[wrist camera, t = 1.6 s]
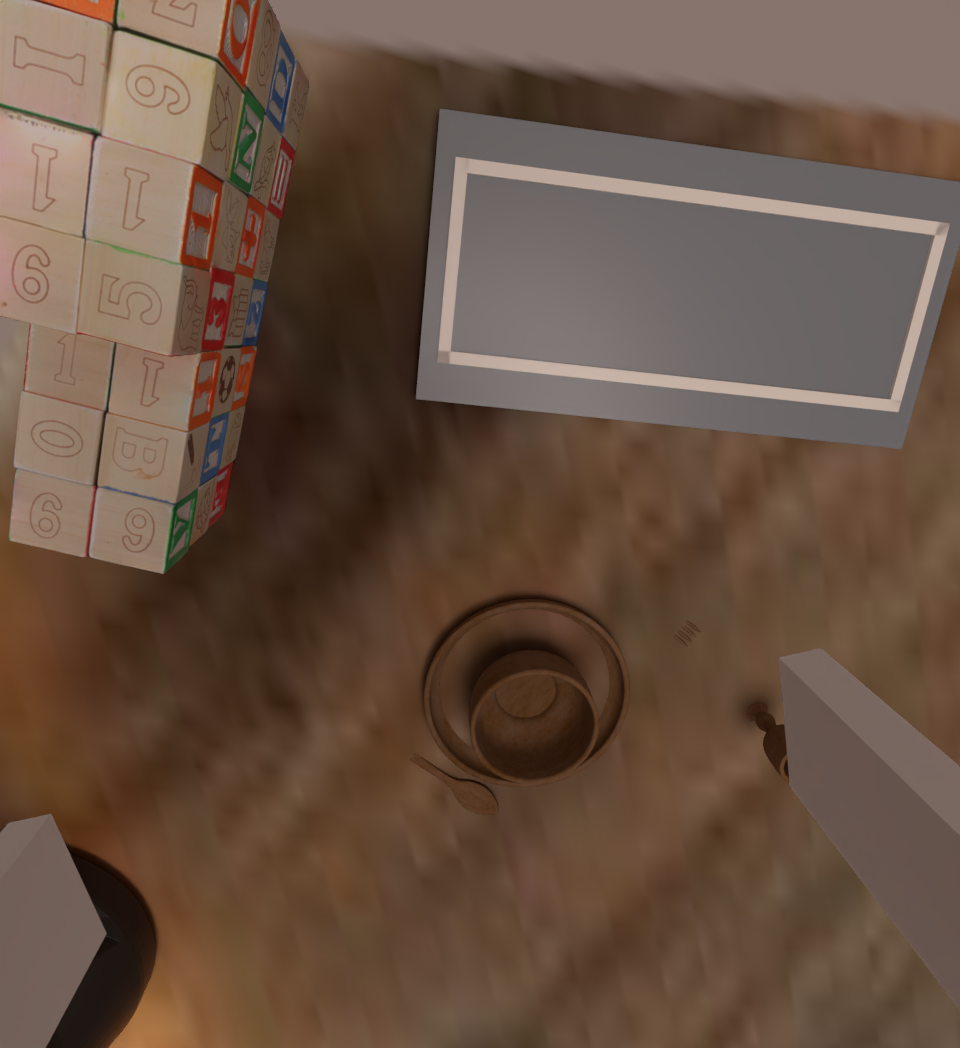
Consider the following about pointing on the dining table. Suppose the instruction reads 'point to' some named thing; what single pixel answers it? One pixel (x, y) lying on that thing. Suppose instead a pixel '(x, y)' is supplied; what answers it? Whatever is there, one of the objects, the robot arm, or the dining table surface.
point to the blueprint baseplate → (680, 282)
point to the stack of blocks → (137, 257)
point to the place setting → (541, 714)
